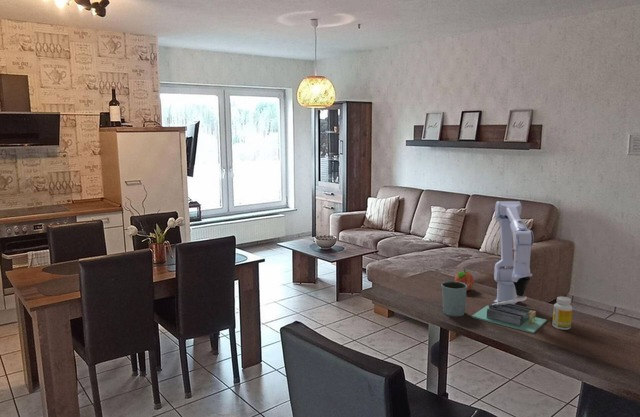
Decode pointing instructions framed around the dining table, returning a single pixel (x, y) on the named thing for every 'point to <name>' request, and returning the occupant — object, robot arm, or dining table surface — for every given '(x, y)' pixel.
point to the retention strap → (509, 301)
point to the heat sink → (511, 314)
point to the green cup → (454, 298)
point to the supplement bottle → (562, 313)
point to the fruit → (465, 278)
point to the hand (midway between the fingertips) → (519, 295)
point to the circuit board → (525, 327)
